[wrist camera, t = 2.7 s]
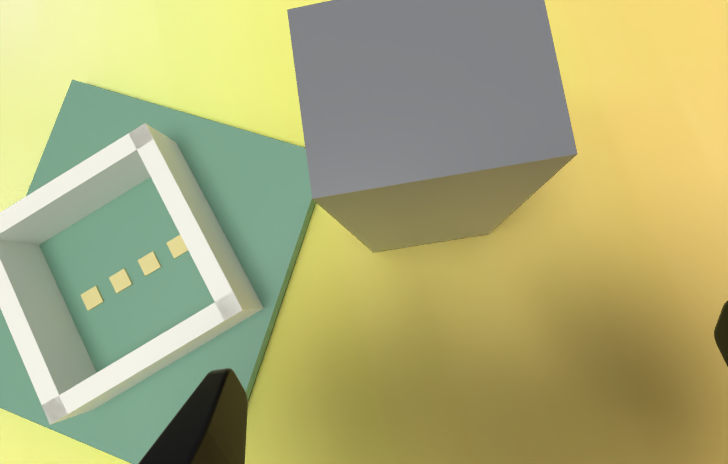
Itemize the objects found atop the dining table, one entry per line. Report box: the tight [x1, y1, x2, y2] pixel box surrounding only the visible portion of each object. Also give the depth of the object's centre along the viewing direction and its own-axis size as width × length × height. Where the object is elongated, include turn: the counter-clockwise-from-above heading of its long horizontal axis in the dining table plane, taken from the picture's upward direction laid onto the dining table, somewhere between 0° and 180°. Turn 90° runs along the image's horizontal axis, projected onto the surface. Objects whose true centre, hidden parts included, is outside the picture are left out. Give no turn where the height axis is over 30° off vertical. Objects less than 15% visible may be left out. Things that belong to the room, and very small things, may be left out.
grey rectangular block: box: [287, 0, 577, 252], centre depth 15 cm, size 5×5×12 cm
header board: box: [0, 80, 316, 464], centre depth 21 cm, size 13×15×3 cm
